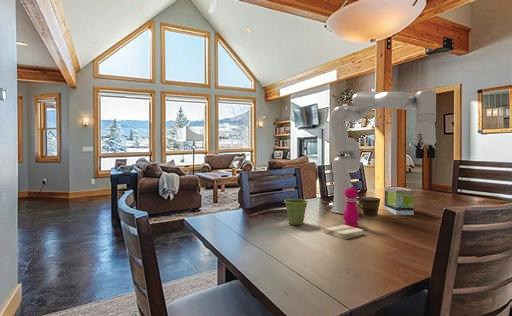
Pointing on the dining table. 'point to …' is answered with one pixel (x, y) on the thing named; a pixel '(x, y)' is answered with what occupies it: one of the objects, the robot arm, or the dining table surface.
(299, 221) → the plant pot
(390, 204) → the tea box
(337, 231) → the maple base
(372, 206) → the ceramic cup
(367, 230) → the dining table surface
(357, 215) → the pepper mill
